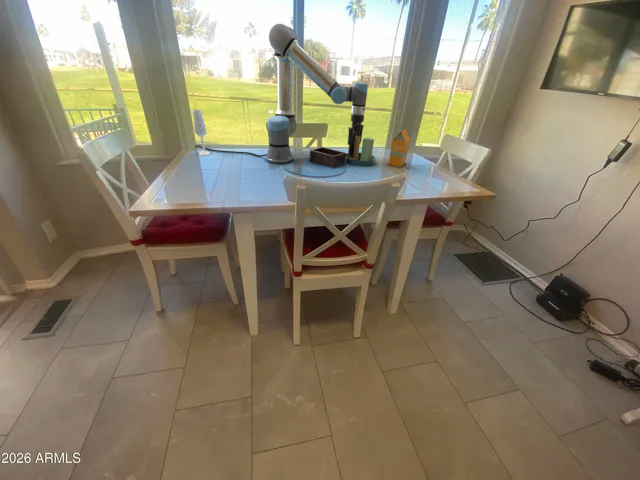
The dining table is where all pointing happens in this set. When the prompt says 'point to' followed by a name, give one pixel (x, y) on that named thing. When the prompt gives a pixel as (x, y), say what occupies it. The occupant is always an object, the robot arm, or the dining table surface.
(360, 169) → the dining table surface
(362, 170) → the dining table surface
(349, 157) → the packet kraft
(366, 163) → the bowl
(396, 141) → the orange juice
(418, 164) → the dining table surface
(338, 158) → the box
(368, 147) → the packet sage
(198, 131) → the champagne flute
